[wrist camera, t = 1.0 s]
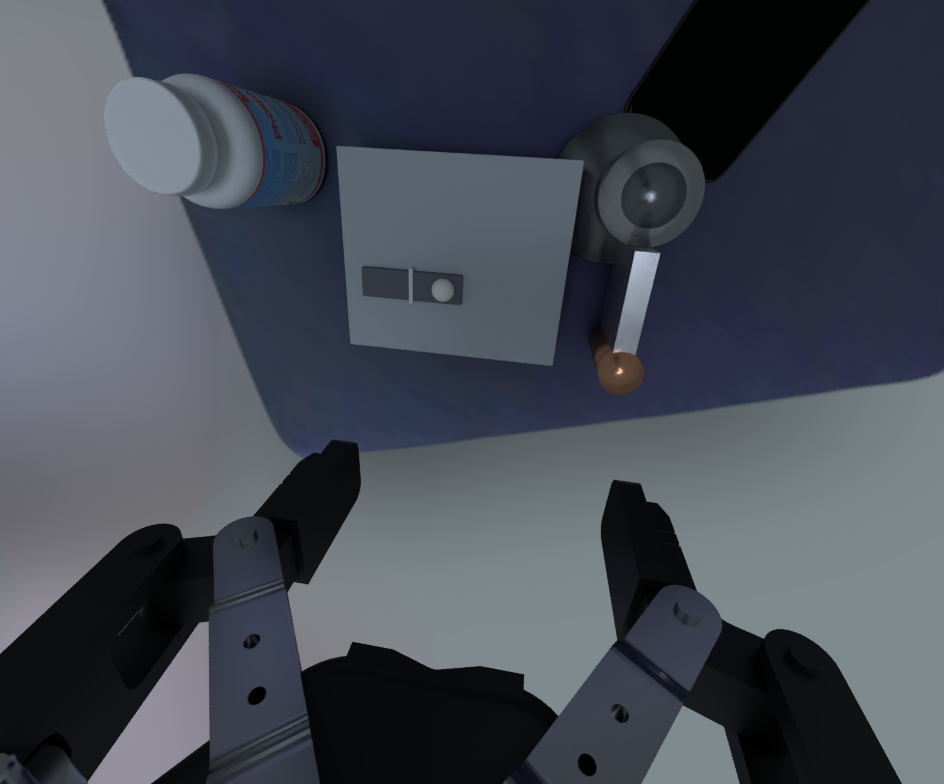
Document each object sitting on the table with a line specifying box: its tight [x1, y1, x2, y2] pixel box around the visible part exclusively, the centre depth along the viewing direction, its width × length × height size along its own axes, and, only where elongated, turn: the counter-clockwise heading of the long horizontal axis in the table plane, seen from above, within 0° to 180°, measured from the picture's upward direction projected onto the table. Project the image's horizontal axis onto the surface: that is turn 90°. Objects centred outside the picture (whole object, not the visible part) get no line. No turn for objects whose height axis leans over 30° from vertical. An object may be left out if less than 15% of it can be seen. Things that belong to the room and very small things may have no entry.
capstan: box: [558, 113, 705, 395], centre depth 25 cm, size 14×8×8 cm, turn 176°
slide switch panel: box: [336, 146, 584, 366], centre depth 28 cm, size 12×14×6 cm
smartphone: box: [624, 0, 870, 183], centre depth 22 cm, size 7×1×15 cm
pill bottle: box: [104, 74, 326, 209], centre depth 24 cm, size 6×6×11 cm
